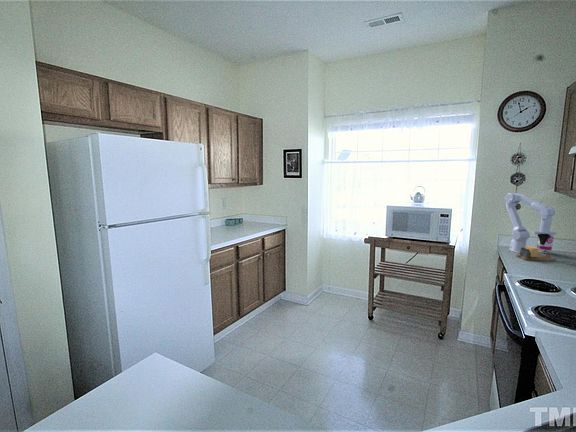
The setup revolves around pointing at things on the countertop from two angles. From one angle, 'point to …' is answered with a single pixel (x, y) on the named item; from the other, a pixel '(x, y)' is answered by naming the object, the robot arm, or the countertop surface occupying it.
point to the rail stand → (525, 255)
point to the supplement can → (546, 245)
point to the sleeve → (533, 251)
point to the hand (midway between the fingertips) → (542, 244)
